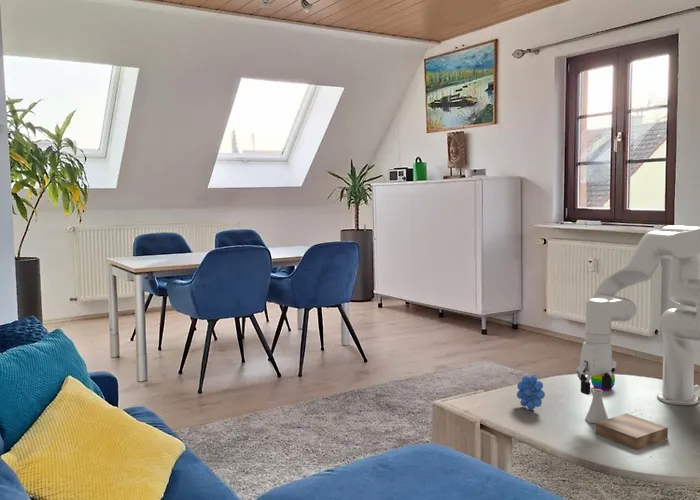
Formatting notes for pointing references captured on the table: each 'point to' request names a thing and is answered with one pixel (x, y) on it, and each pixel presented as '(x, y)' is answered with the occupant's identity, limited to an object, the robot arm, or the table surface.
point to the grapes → (530, 392)
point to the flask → (596, 408)
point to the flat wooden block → (631, 431)
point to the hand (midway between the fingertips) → (595, 391)
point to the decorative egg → (597, 381)
